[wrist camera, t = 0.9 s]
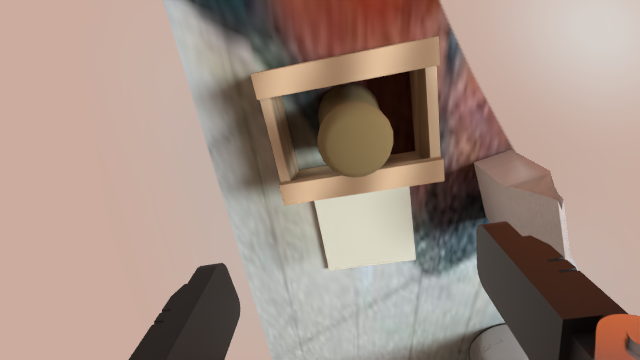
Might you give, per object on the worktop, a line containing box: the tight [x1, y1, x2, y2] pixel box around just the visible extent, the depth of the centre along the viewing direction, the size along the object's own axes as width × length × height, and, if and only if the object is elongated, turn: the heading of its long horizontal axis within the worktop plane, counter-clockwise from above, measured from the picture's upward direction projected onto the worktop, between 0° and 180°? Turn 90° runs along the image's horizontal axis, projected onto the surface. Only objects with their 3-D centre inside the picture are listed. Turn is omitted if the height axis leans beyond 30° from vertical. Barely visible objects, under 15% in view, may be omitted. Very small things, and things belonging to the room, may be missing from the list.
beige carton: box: [474, 150, 571, 263], centre depth 28 cm, size 4×7×10 cm, turn 22°
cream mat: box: [314, 186, 416, 271], centre depth 34 cm, size 10×10×1 cm
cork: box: [317, 83, 393, 178], centre depth 25 cm, size 6×6×11 cm
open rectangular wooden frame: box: [250, 36, 444, 205], centre depth 27 cm, size 14×11×6 cm
